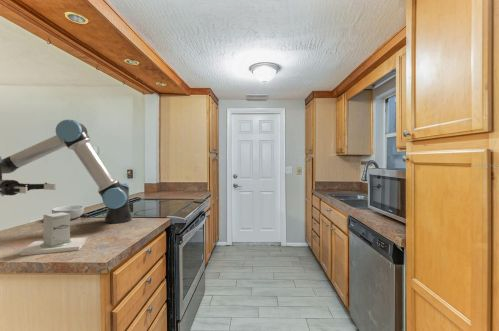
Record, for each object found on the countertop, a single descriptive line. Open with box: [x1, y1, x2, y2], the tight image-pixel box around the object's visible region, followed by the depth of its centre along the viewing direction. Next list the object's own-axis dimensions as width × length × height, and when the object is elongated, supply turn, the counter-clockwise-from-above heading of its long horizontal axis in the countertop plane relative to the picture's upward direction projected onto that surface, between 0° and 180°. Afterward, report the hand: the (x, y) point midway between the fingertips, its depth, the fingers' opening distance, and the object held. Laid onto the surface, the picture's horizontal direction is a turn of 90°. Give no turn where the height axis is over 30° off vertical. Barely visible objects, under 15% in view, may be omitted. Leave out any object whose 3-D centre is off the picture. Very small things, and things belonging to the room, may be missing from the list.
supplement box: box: [42, 212, 71, 246], centre depth 115 cm, size 7×7×13 cm
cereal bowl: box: [51, 205, 85, 221], centre depth 168 cm, size 17×17×7 cm
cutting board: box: [19, 236, 87, 256], centre depth 114 cm, size 20×14×2 cm
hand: (41, 188), depth 125 cm, fingers open, 13 cm apart
